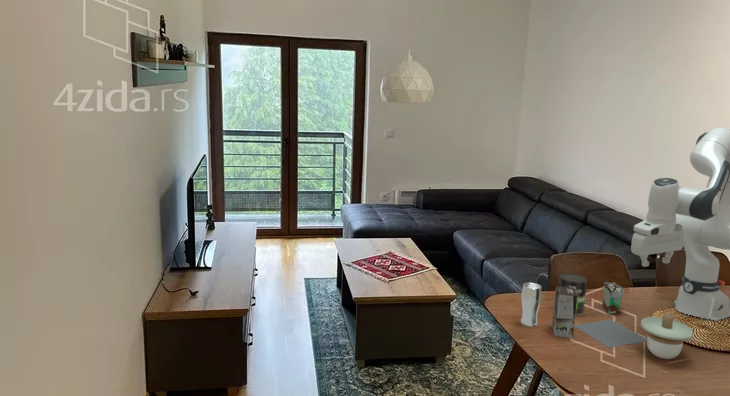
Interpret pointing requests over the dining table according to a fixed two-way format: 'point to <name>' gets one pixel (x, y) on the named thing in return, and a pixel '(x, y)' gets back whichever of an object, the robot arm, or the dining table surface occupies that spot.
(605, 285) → the food container
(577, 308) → the coffee can
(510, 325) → the dining table surface
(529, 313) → the beer glass
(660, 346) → the lidded jar
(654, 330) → the lid
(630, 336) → the mat
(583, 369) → the dining table surface
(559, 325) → the coffee box
